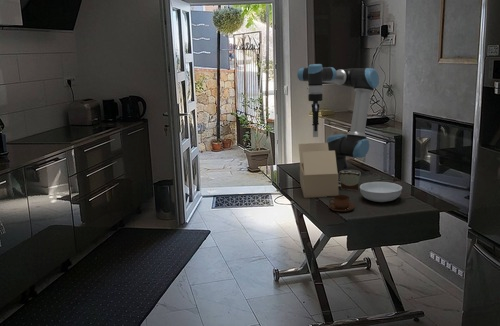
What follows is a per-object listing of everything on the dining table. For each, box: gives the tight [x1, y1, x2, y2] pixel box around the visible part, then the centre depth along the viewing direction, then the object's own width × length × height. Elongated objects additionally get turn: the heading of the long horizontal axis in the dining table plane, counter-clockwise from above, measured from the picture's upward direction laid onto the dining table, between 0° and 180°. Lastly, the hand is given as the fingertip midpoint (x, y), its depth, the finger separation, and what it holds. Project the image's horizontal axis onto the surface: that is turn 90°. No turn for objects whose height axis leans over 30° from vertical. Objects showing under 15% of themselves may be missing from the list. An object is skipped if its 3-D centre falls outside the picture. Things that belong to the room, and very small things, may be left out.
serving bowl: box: [359, 181, 403, 203], centre depth 243 cm, size 21×21×7 cm
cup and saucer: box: [328, 194, 355, 212], centre depth 231 cm, size 12×12×6 cm
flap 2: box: [303, 151, 339, 176], centre depth 253 cm, size 17×14×1 cm
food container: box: [338, 169, 362, 191], centre depth 264 cm, size 12×6×10 cm, turn 65°
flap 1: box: [298, 142, 329, 164], centre depth 281 cm, size 17×14×1 cm
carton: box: [299, 162, 339, 199], centre depth 265 cm, size 18×28×12 cm, turn 178°
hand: (315, 136), depth 262 cm, fingers closed
